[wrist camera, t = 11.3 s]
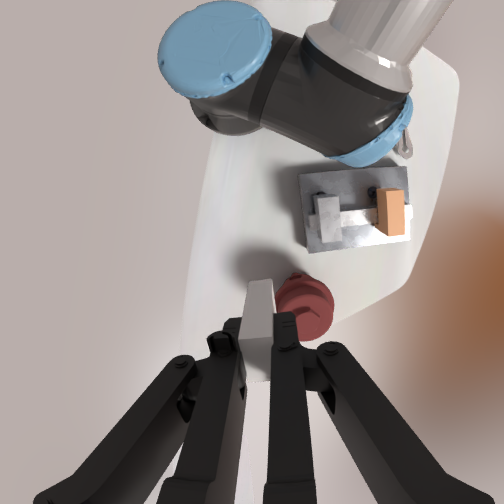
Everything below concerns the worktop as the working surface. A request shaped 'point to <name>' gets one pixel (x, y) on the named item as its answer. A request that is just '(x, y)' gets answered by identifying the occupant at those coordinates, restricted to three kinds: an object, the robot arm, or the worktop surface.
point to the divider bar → (341, 217)
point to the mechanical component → (306, 305)
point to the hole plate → (351, 202)
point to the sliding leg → (391, 211)
